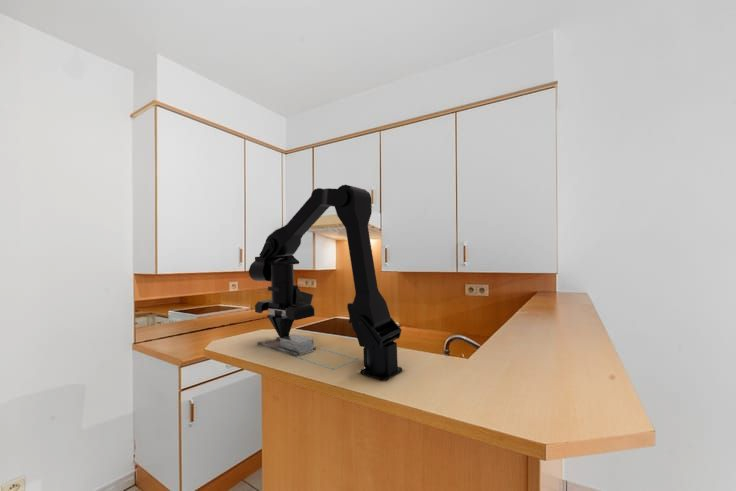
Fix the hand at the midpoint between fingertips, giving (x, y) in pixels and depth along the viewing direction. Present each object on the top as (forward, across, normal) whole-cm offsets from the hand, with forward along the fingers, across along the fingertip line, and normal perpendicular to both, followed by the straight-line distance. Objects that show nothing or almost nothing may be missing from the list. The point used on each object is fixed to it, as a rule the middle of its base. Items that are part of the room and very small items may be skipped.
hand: (284, 341), depth 80 cm
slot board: (+2, 0, 0) cm, 2 cm away
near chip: (+1, -7, 0) cm, 7 cm away
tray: (+2, -15, 0) cm, 16 cm away
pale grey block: (+1, -3, 0) cm, 3 cm away
